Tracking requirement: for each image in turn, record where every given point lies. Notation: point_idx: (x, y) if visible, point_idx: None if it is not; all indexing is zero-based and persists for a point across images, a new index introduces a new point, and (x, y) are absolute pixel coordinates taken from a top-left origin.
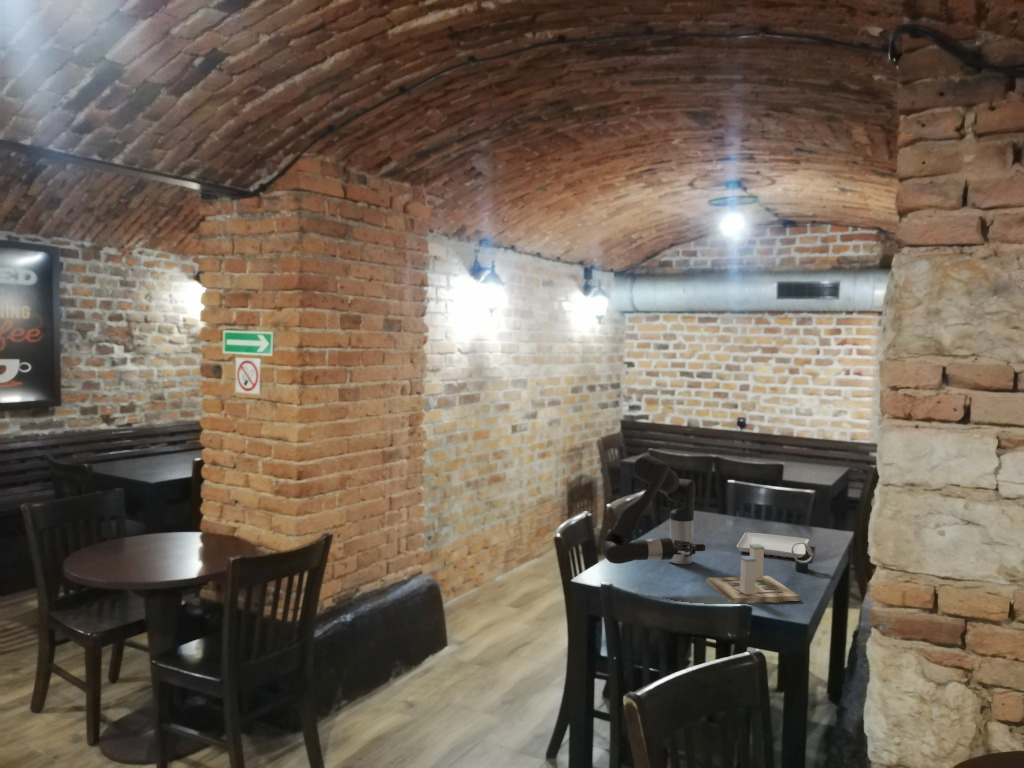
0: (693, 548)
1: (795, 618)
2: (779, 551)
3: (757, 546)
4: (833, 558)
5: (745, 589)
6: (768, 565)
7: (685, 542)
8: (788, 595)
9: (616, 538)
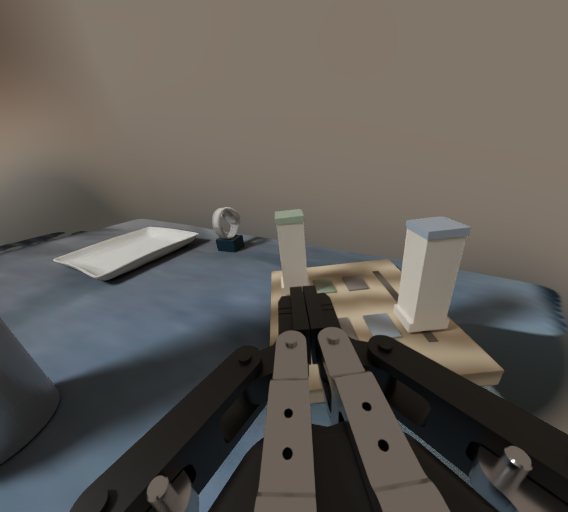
0: (428, 363)
1: (510, 287)
2: (170, 245)
3: (294, 213)
4: (204, 229)
5: (445, 316)
6: (193, 268)
7: (287, 390)
8: (393, 268)
9: None
